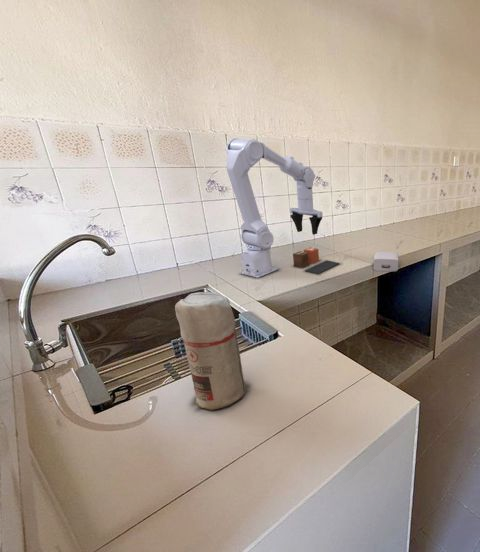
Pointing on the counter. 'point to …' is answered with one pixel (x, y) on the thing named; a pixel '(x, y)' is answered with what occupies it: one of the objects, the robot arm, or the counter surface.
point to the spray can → (211, 349)
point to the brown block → (301, 259)
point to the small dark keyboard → (322, 267)
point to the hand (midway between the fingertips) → (307, 232)
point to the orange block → (312, 254)
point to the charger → (385, 261)
